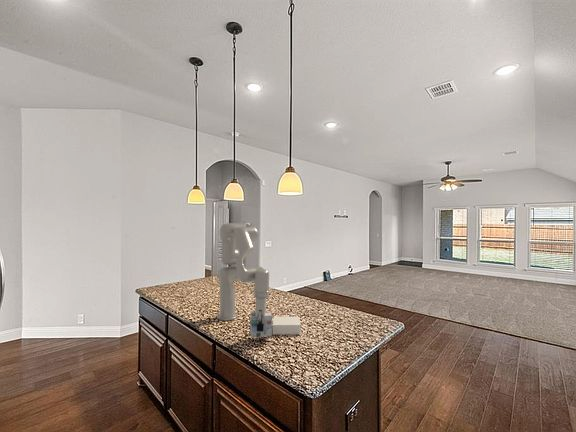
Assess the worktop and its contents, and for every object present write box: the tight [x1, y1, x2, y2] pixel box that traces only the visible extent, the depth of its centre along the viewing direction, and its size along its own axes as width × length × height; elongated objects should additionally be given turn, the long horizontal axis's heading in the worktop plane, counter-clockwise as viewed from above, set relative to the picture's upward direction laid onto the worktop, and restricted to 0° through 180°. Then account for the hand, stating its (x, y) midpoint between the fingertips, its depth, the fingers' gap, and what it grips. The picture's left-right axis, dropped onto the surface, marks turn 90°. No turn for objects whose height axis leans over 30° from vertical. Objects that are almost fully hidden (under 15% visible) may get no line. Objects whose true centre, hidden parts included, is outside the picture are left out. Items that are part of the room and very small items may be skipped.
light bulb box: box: [249, 310, 273, 339], centre depth 144 cm, size 11×7×11 cm, turn 105°
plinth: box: [272, 316, 301, 335], centre depth 157 cm, size 13×15×5 cm
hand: (260, 327), depth 144 cm, fingers closed on light bulb box, 7 cm apart
